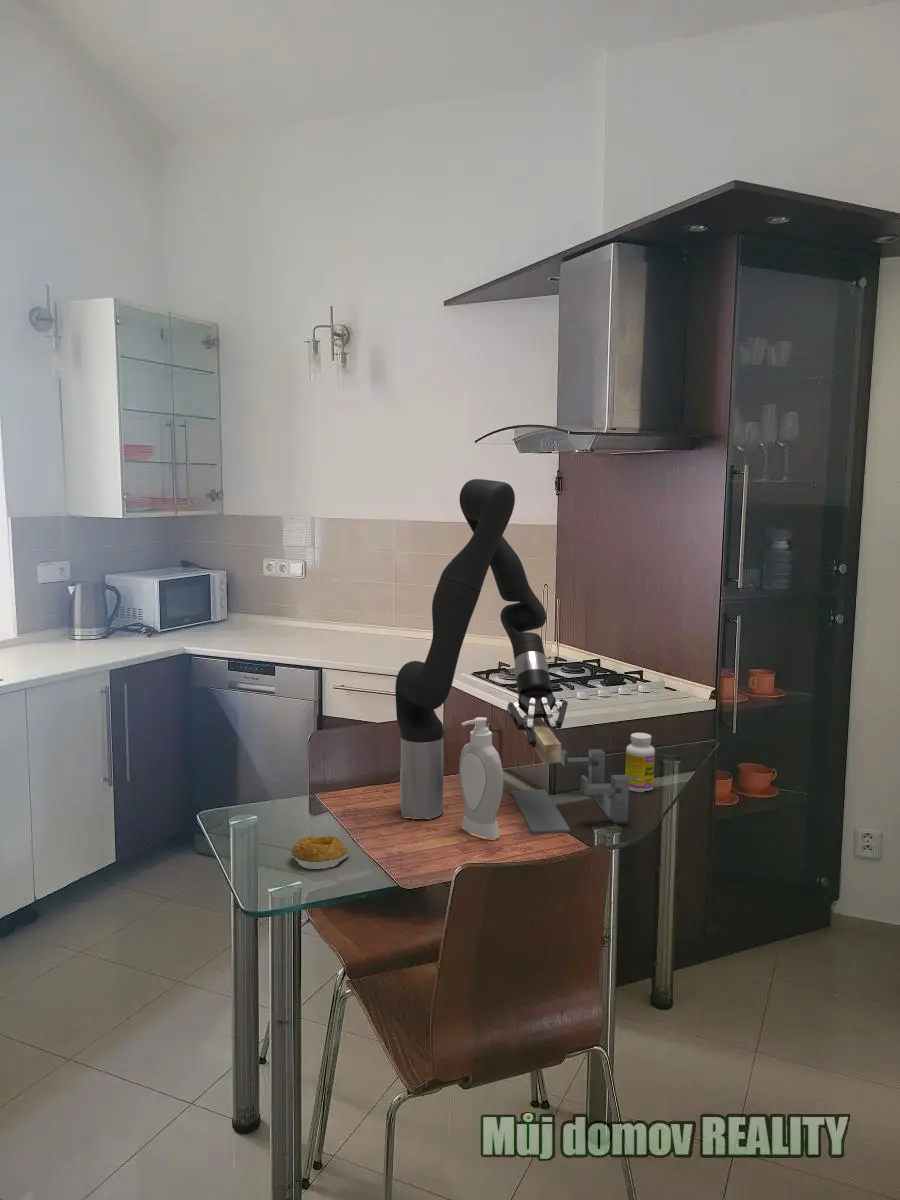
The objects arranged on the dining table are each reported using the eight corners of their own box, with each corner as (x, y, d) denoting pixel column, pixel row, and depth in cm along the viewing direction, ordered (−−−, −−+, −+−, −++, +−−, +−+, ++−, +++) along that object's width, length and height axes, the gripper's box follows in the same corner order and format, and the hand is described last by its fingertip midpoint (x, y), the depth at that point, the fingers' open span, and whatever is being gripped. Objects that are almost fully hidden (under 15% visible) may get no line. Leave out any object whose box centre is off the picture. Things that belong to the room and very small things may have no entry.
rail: (544, 763, 187) (544, 744, 186) (523, 732, 208) (523, 715, 208) (560, 763, 187) (561, 744, 186) (538, 731, 209) (538, 714, 208)
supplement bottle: (646, 795, 211) (647, 741, 209) (619, 789, 215) (621, 736, 213) (658, 787, 216) (660, 734, 214) (632, 781, 220) (634, 729, 218)
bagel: (354, 867, 173) (353, 843, 172) (296, 875, 170) (295, 851, 169) (343, 847, 182) (342, 824, 182) (288, 855, 179) (287, 831, 178)
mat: (532, 833, 188) (532, 831, 188) (511, 793, 212) (511, 790, 212) (570, 832, 189) (570, 829, 189) (545, 791, 213) (545, 789, 213)
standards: (583, 826, 192) (584, 780, 191) (560, 792, 213) (561, 749, 211) (627, 825, 193) (629, 778, 192) (600, 790, 214) (601, 748, 212)
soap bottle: (441, 829, 190) (441, 715, 187) (469, 820, 195) (469, 709, 192) (483, 849, 181) (484, 729, 177) (511, 839, 186) (512, 722, 182)
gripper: (503, 668, 202) (513, 738, 192) (566, 666, 203) (579, 735, 193) (499, 686, 208) (508, 754, 198) (560, 684, 209) (572, 752, 199)
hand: (543, 744), depth 195 cm, fingers closed on rail, 3 cm apart
